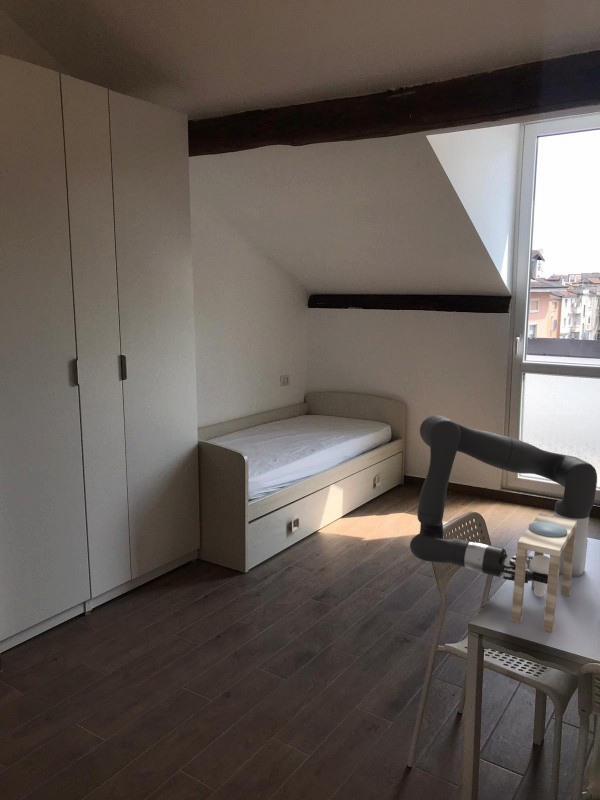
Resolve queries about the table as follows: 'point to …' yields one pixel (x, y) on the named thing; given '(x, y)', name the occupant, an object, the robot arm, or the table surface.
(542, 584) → the lightbulb
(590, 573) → the table surface
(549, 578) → the stool
